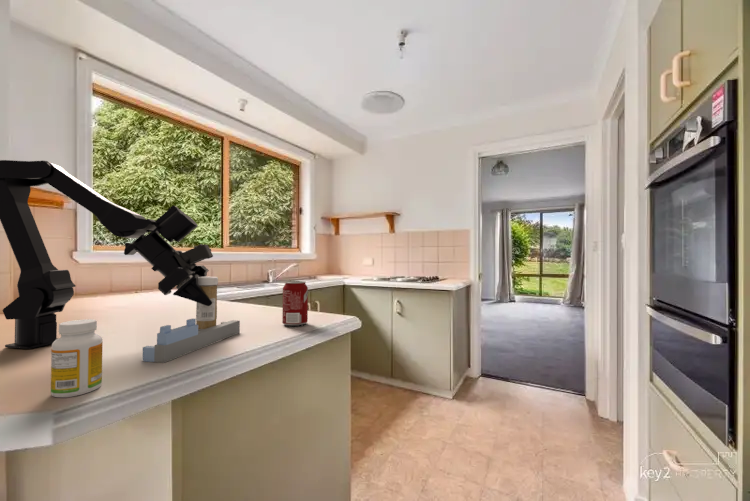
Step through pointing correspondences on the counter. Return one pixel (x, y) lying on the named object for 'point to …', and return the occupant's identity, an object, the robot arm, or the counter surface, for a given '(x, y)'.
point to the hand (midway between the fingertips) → (213, 303)
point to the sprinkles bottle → (205, 313)
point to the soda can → (295, 303)
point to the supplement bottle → (76, 359)
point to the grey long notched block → (186, 339)
